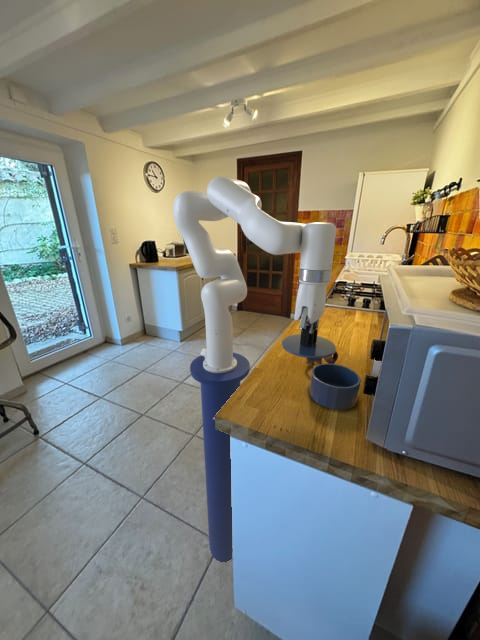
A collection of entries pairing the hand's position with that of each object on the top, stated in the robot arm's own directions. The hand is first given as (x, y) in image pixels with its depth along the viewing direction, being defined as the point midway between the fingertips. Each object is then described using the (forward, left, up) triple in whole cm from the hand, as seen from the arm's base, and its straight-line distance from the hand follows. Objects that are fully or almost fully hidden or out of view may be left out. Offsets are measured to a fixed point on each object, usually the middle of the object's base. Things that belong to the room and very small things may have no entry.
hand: (308, 343), depth 69 cm
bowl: (+7, +6, -17) cm, 20 cm away
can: (+19, +19, -18) cm, 32 cm away
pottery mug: (0, +20, -18) cm, 27 cm away
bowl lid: (0, 0, -1) cm, 1 cm away
